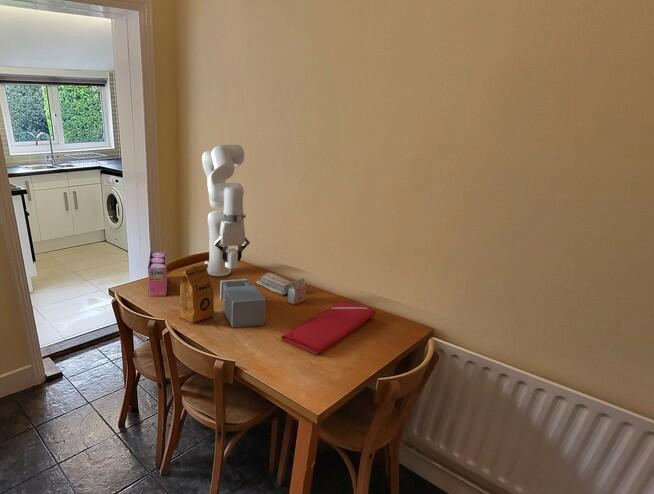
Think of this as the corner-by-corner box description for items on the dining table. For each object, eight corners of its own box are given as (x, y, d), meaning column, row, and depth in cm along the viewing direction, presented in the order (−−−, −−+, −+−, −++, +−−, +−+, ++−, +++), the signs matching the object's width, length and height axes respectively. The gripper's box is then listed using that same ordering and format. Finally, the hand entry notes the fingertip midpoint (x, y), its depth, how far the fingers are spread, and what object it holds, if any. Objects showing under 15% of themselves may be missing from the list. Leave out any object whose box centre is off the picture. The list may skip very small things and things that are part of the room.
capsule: (222, 266, 175) (223, 248, 172) (232, 263, 178) (232, 245, 175) (230, 269, 171) (231, 251, 168) (240, 266, 174) (241, 248, 171)
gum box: (151, 277, 205) (150, 251, 200) (167, 276, 206) (166, 250, 200) (149, 296, 184) (147, 267, 178) (166, 296, 184) (165, 267, 178)
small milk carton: (287, 301, 177) (289, 280, 173) (298, 298, 180) (300, 276, 176) (293, 304, 174) (295, 282, 170) (304, 300, 177) (307, 279, 173)
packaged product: (299, 281, 185) (283, 286, 180) (298, 291, 187) (282, 296, 182) (271, 269, 199) (256, 274, 194) (270, 279, 201) (255, 283, 196)
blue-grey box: (223, 311, 169) (224, 287, 165) (253, 308, 171) (254, 285, 166) (232, 327, 156) (233, 302, 152) (264, 324, 158) (265, 299, 153)
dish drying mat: (279, 339, 148) (280, 330, 146) (339, 306, 172) (340, 298, 171) (318, 356, 137) (319, 347, 135) (375, 318, 162) (377, 310, 160)
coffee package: (217, 317, 164) (218, 265, 154) (192, 326, 157) (191, 272, 148) (202, 309, 171) (202, 259, 162) (177, 317, 165) (176, 265, 155)
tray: (217, 294, 182) (217, 276, 179) (242, 292, 184) (243, 274, 180) (227, 313, 166) (227, 293, 162) (254, 310, 167) (255, 291, 163)
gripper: (250, 214, 170) (248, 256, 178) (210, 216, 168) (210, 259, 176) (256, 218, 164) (253, 262, 171) (214, 220, 161) (213, 264, 169)
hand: (231, 260), depth 173 cm, fingers closed on capsule, 5 cm apart
